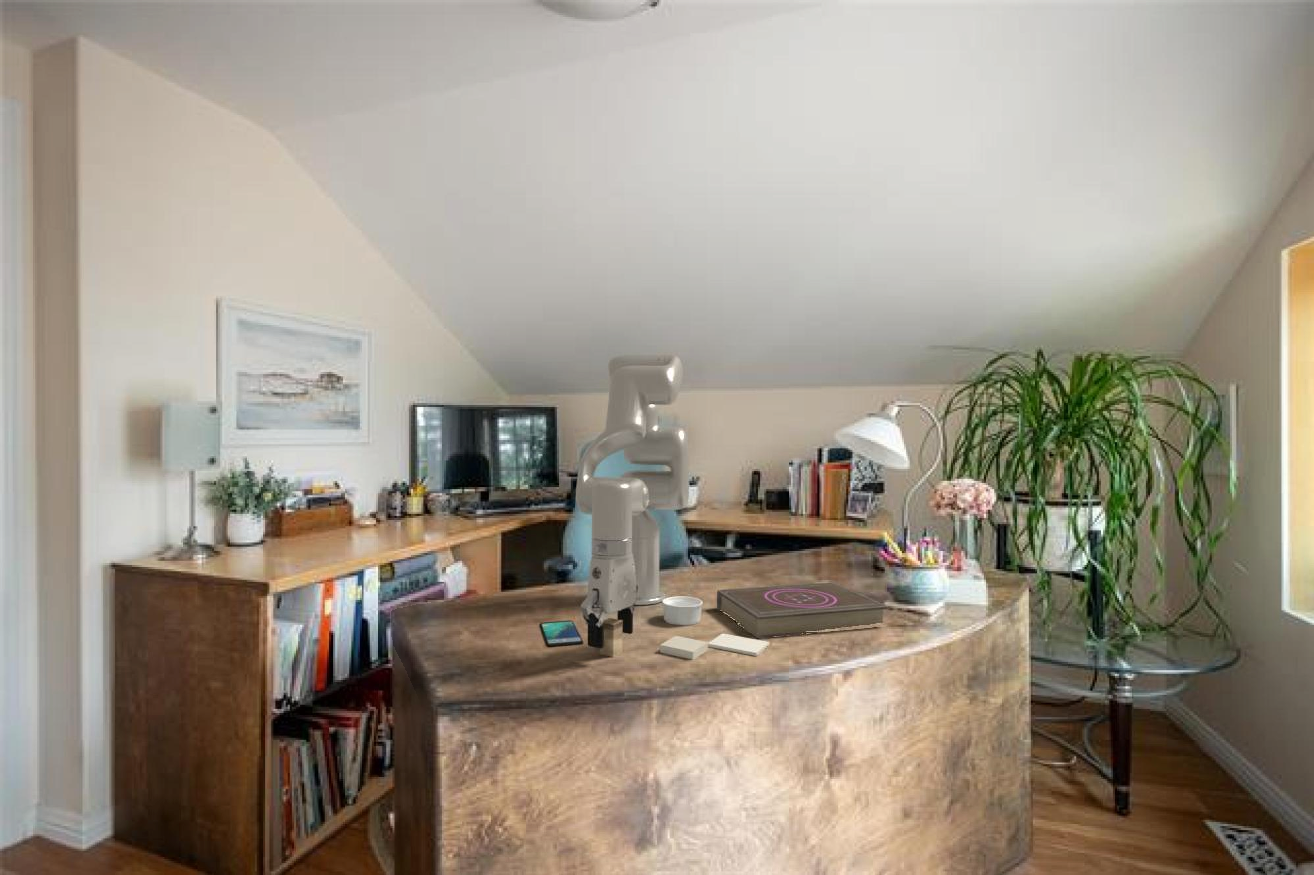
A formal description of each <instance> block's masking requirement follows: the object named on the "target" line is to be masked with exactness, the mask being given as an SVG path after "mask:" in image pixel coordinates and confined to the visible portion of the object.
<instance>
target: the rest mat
mask: <svg viewBox="0 0 1314 875" xmlns="http://www.w3.org/2000/svg"><path fill="white" fill-rule="evenodd" d="M767 646H768V647H769V646H770V641H767V640H762V639H757V638H749V637H744V636H739V635H734V634H733V635H732V634H727V633H721V634H719V635H718V636H717V637H714V639H712V640H710V641H709V642H708V648H713V649H718V650H724V651H729V652H734V653H738V654H744V655H749V656H754V657H757V656H759V655H760V654H761V653H762V652H764V651H765V650H766V649H767V648H768V647H767ZM765 648H766V649H765Z"/></svg>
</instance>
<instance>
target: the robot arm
mask: <svg viewBox="0 0 1314 875" xmlns="http://www.w3.org/2000/svg"><path fill="white" fill-rule="evenodd" d="M607 367H608V368H607V369H608V370H607V372H608V376H609V380H610V385H609V393H608V402H607V411H606V412H607V413H606V420H605V428H604V430H603V432H601V433H600V434H599V435H598V436H597V437H595V439H593V441H592V442H591V443H590V444H589V446H588V447H587V448H586V450H585V451H584V453H583V454H582V458H581V459H580V462H579V465H578V472H577V480H576V487H575V503H576V507H577V509H578V510H579V511H580V512H581V513H583V514H585V515H589V516H591V553H590V554H591V557H590V563H589V564H590V565H589V572H588V581H587V597H586V598H585V599H584V600H583V601H582V603H581V604H580V608H581V612H582V615H583V616H582V617H583V620H584V621H585V624H586V625H587V646H588V647H591V648H596V649H599V650H600V649H601V648H603V647H604V626H603V625H602V622H603V620H605V617H606V615H608V614H609V615H612V614H615V613H617V618H616V619H618V620H622V621H623V626H622V634H623V633H624V634H627V635H631V634H633V632H634V612H635V608H636V607H635V606H644V605H645V606H646V605H654V604H659V603H660V602H661V603H662V601H663V600H664V599H665V598H666V593H665V592H664V591H663V590H660V526H659V523H658V522H657V520H656V518H655V517H654V516H653V514H652V513H651V512H650V511H653V510H656V511H657V510H662V511H664V510H665V511H667V510H668V511H669V510H670V511H676V510H677V511H678V510H679V511H680V510H682V509H684V508H685V507H686V506H687V504H688V503H689V502H688V501H689V496H690V450H689V448H690V447H689V439H688V435H687V432H686V431H685V430H684V429H683V428H681V427H679V426H672V425H671V426H668V425H667V426H663V425H662V426H661V425H659V419H658V418H659V416H658V415H659V413H658V412H659V411H658V410H659V408H658V406H660V405H661V406H668V405H673V404H674V403H676V400H677V398H678V395H679V392H680V388H681V386H682V382H683V376H684V374H683V373H684V371H683V370H684V369H683V363H682V361H681V359H680V357H678V356H677V355H674V354H624V355H623V354H622V355H617V356H615V357H612V358H611V359H610V360H609V362H608V366H607ZM620 451H623V456H624V459H625V460H626V462H627V463H628V464H631V465H638V466H640V465H641V466H665V467H668V468H669V470H654V469H653V470H651V469H643V470H642V469H637V470H635V469H633V470H629V471H626V472H624V473H622V474H621V475H620V477H617V476H615V477H614V476H613V477H611V476H609V477H608V476H606V477H605V476H595V472H596V470H597V468H598V466H599V465H600V464H601V463H602V462H603V461H604V460H605V459H606V458H608V457H609V456H611V455H613V454H615V453H618V452H620ZM596 613H597V614H598V617H597V615H596Z"/></svg>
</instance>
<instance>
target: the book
mask: <svg viewBox="0 0 1314 875" xmlns="http://www.w3.org/2000/svg"><path fill="white" fill-rule="evenodd" d="M717 608H718V609H719V610H722V612H725V613H727V614H728V615H730V616H729V617H732V618H733V619H735V620H734V621H737V623H740V624H739V625H741V626H742V627H744V629H743V630H745V629H746V630H747V631H748V632H747V631H746V630H745V631H746V632H747V633H749V634H750V633H751V634H752V635H751V634H750V635H751V636H753V635H754V636H755V637H756V638H755V637H754V636H753V637H754V638H755V639H757V638H764V639H769V638H768V637H774V636H786V637H788V636H787V635H796V636H801V635H800V634H802V633H803V634H806V633H818V632H806V631H817V630H818V631H819V630H825V629H835V628H841V627H852V626H859V625H870V624H876V623H883V624H884V617H883V616H884V610H889V606H888V605H887V604H884V603H882V602H879V601H877V600H876V599H875V600H874V599H873V598H870V597H868V596H866V595H863V594H860V593H858V592H856V591H854V590H852V589H849V588H848V587H844V586H842V585H841V584H837V583H836V582H819V583H805V584H803V583H802V584H792V585H791V584H790V585H788V584H787V585H776V586H775V585H774V586H773V585H772V586H760V587H759V586H757V587H744V588H729V589H718V590H717V592H716V609H717ZM718 609H717V610H718ZM719 610H718V611H719ZM722 612H721V613H722ZM727 614H726V615H727ZM726 615H725V616H726ZM729 617H728V618H729ZM734 621H733V622H734ZM737 623H736V624H737ZM739 625H738V626H739ZM741 626H740V627H741ZM742 627H741V628H742ZM818 634H819V633H818Z"/></svg>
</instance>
